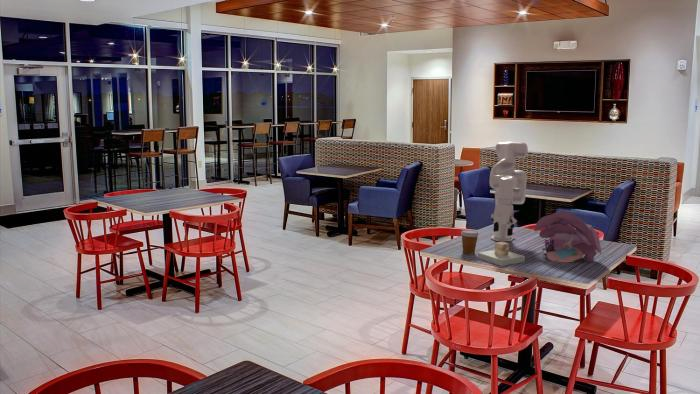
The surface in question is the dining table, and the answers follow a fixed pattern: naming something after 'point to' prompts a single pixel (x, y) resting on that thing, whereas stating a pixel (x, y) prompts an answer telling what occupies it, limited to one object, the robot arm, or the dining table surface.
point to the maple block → (501, 248)
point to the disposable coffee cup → (469, 241)
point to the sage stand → (501, 258)
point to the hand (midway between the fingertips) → (502, 233)
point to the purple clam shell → (568, 237)
